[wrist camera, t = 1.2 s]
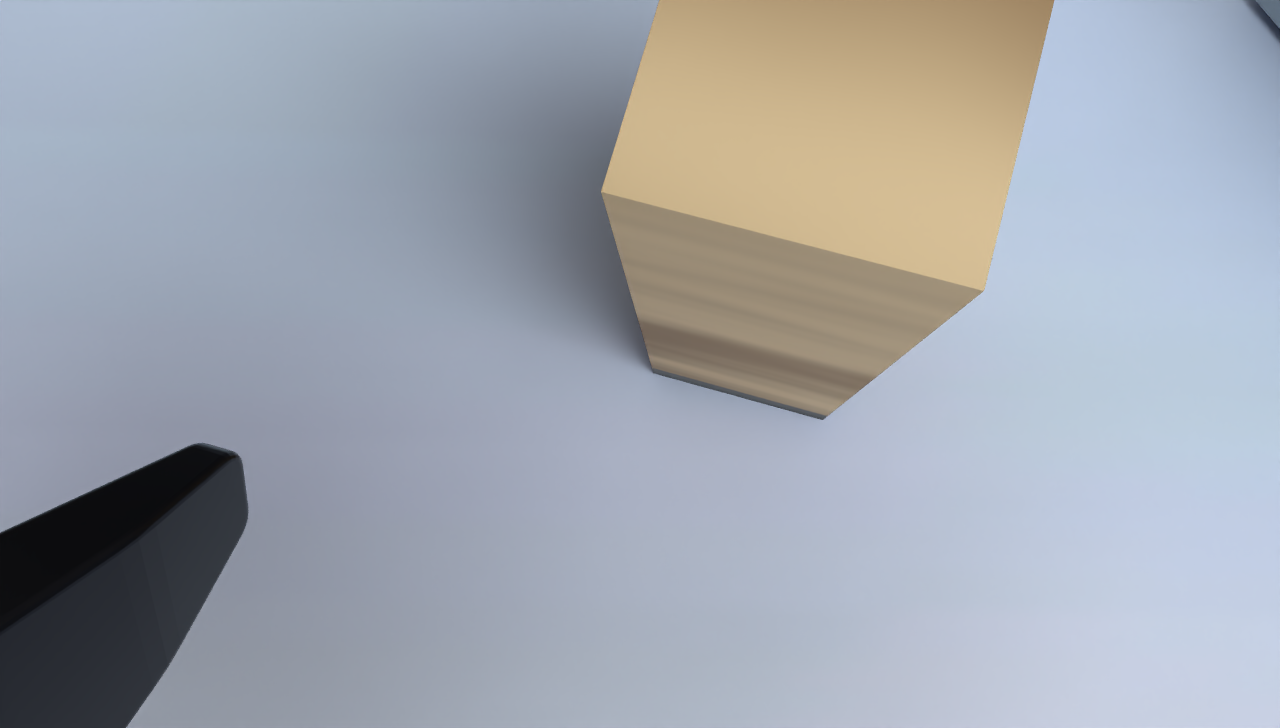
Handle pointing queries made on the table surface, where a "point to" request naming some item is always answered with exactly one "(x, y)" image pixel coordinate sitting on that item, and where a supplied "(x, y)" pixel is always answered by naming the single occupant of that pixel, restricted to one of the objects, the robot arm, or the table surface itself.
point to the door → (1271, 9)
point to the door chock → (815, 183)
